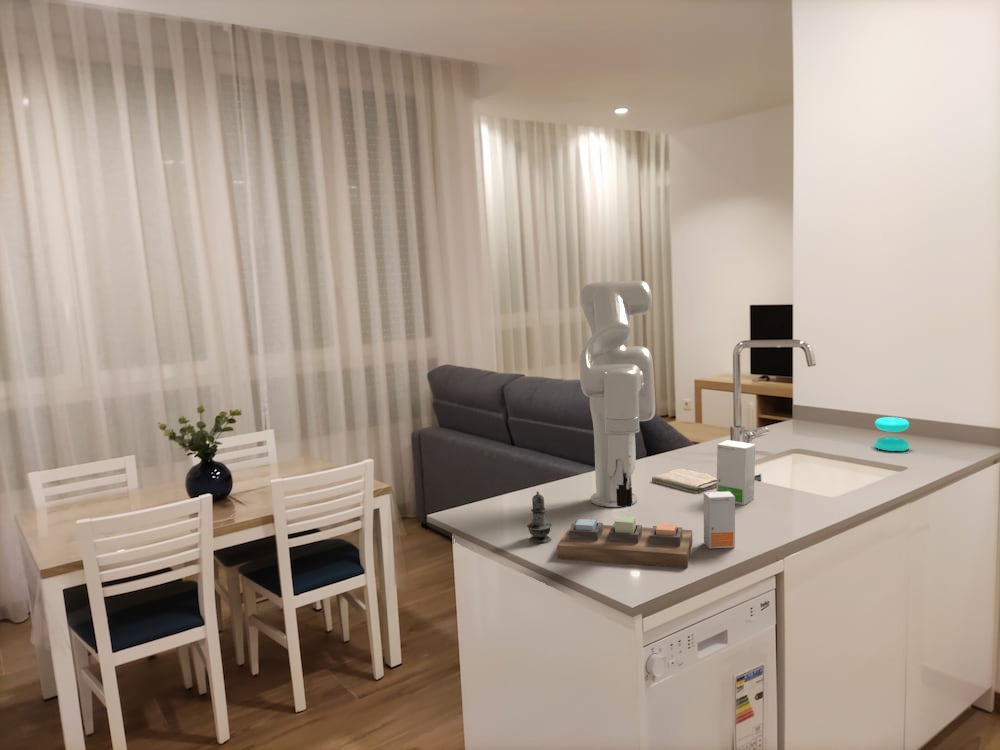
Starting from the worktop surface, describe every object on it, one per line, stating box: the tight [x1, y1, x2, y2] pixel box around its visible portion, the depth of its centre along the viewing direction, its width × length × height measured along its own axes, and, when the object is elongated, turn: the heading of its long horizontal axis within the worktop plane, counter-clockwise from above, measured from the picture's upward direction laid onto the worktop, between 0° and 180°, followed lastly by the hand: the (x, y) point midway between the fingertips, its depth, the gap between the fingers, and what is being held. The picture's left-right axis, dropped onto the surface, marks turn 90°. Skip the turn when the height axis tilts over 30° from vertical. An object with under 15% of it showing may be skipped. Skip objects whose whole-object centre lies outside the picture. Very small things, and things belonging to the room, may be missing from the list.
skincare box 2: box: [716, 439, 756, 506], centre depth 196 cm, size 8×7×16 cm
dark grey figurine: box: [526, 491, 552, 545], centre depth 174 cm, size 6×6×12 cm
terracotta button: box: [656, 522, 677, 536], centre depth 161 cm, size 4×4×3 cm
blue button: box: [575, 518, 597, 531], centre depth 167 cm, size 4×4×3 cm
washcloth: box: [651, 468, 717, 494], centre depth 214 cm, size 12×18×3 cm, turn 37°
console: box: [556, 520, 693, 569], centre depth 165 cm, size 15×28×5 cm, turn 71°
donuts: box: [874, 416, 910, 452], centre depth 241 cm, size 10×10×10 cm
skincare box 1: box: [703, 491, 736, 550], centre depth 164 cm, size 6×4×12 cm
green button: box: [614, 515, 637, 533], centre depth 164 cm, size 4×4×3 cm
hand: (624, 505), depth 163 cm, fingers closed
